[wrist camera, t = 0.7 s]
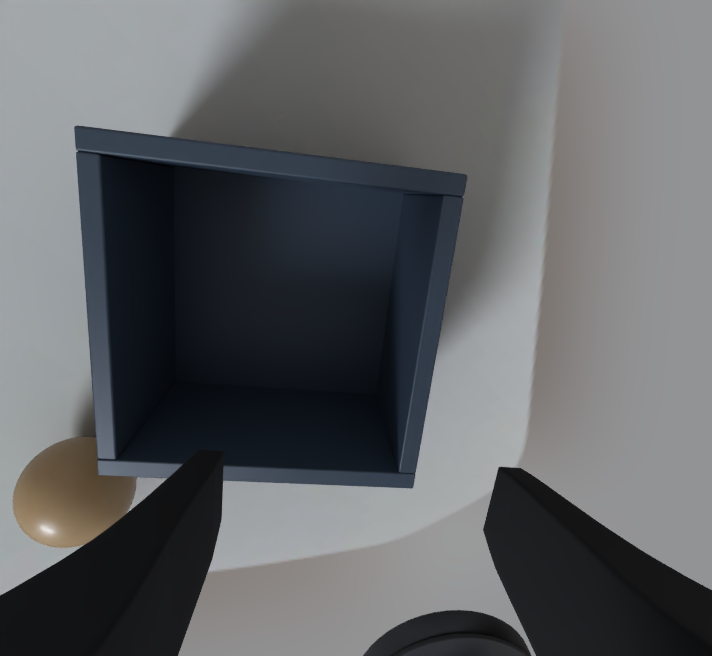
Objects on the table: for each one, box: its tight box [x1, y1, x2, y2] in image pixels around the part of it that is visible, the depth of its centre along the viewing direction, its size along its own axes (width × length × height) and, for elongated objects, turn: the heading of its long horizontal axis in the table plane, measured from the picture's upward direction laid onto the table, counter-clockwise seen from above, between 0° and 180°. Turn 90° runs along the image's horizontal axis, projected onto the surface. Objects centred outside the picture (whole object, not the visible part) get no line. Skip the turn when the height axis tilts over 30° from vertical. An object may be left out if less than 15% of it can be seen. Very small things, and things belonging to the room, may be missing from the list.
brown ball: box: [13, 437, 136, 548], centre depth 19 cm, size 4×4×4 cm
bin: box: [74, 126, 467, 488], centre depth 16 cm, size 10×10×6 cm
